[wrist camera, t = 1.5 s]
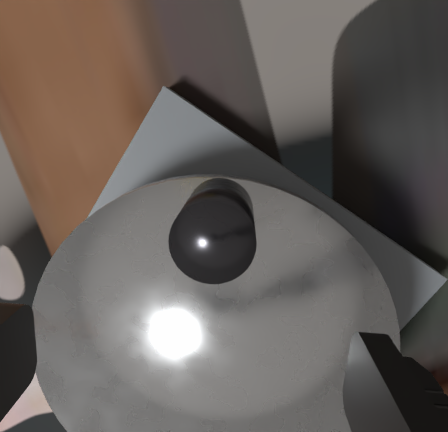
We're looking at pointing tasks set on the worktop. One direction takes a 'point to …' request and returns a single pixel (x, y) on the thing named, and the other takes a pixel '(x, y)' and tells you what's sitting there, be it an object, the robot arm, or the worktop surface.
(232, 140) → the wheel base
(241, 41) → the worktop surface
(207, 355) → the handwheel
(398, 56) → the worktop surface
